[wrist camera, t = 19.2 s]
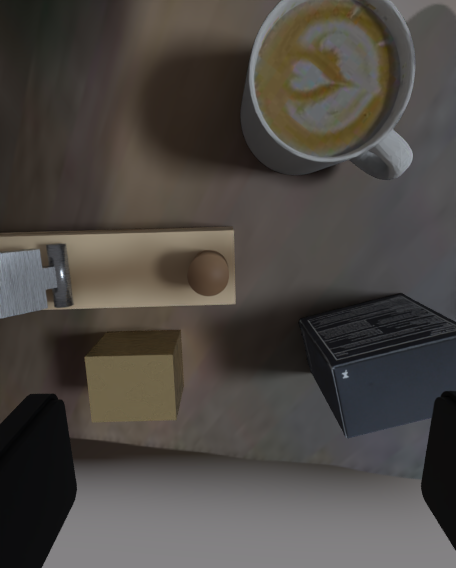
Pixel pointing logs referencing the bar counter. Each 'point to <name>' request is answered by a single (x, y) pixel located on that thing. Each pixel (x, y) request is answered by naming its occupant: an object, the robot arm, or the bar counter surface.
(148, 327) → the bar counter surface
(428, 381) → the small box
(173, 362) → the olive cube-like block
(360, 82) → the coffee mug
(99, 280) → the wooden block plane
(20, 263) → the lever
